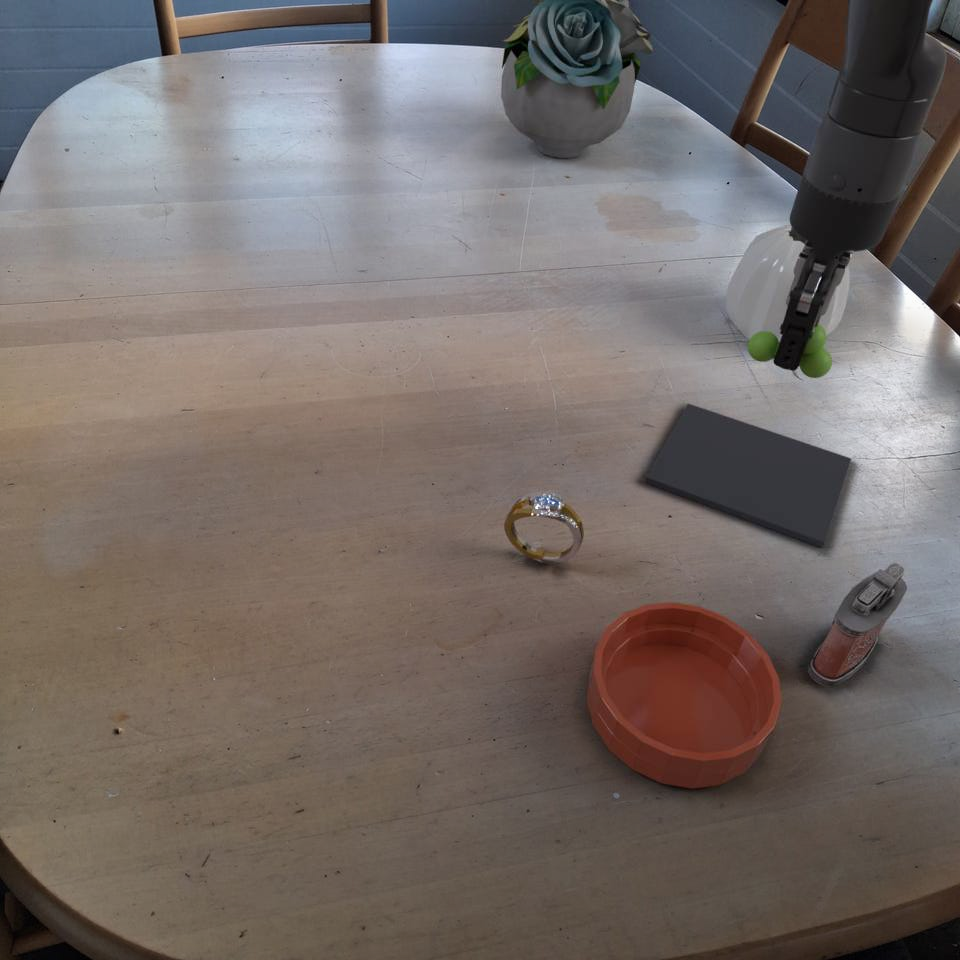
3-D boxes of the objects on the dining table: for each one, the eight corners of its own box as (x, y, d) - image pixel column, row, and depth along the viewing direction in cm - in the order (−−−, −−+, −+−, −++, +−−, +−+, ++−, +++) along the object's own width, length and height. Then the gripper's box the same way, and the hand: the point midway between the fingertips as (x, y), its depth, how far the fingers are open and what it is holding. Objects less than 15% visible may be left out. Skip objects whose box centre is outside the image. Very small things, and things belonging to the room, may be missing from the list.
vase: (707, 343, 111) (734, 244, 101) (734, 291, 120) (761, 196, 111) (820, 377, 107) (859, 277, 98) (839, 320, 116) (876, 224, 107)
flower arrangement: (663, 153, 152) (695, -6, 135) (569, 196, 138) (592, 25, 121) (551, 108, 164) (568, -44, 147) (454, 143, 150) (461, -20, 133)
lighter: (848, 619, 80) (890, 542, 73) (883, 643, 78) (929, 566, 71) (798, 668, 76) (837, 591, 69) (834, 695, 74) (877, 618, 67)
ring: (497, 559, 83) (504, 496, 77) (510, 536, 85) (517, 473, 79) (569, 585, 81) (581, 522, 75) (580, 561, 83) (593, 498, 78)
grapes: (828, 371, 84) (851, 315, 79) (822, 387, 82) (845, 330, 77) (748, 346, 86) (766, 290, 82) (741, 361, 84) (758, 305, 80)
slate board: (849, 463, 95) (851, 458, 95) (822, 548, 86) (825, 542, 85) (686, 408, 101) (687, 403, 100) (644, 482, 91) (646, 476, 91)
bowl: (783, 679, 75) (799, 646, 72) (738, 824, 65) (754, 793, 62) (622, 612, 79) (631, 578, 76) (558, 738, 69) (565, 706, 66)
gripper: (889, 225, 65) (814, 411, 77) (914, 157, 75) (844, 332, 87) (786, 198, 68) (729, 383, 79) (823, 135, 77) (767, 309, 89)
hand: (789, 356), depth 83 cm, fingers closed on grapes, 2 cm apart
